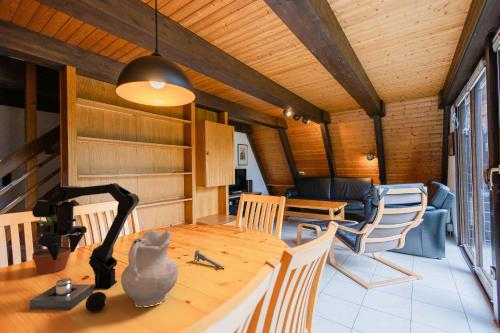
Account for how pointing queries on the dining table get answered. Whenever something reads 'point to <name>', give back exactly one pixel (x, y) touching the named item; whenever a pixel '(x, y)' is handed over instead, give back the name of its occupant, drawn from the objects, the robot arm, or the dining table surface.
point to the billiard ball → (96, 302)
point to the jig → (61, 298)
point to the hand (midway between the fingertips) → (63, 255)
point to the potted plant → (44, 257)
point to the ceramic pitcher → (149, 269)
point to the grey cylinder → (63, 287)
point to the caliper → (205, 259)
